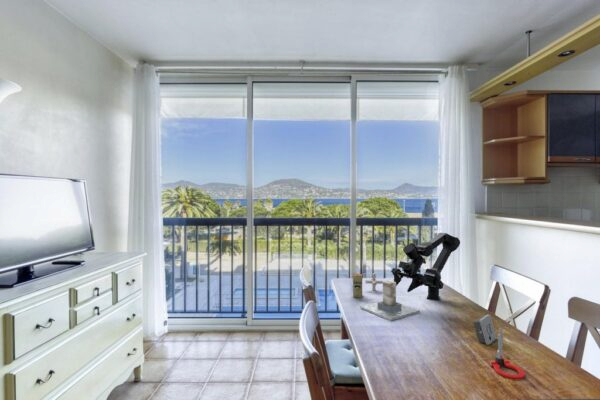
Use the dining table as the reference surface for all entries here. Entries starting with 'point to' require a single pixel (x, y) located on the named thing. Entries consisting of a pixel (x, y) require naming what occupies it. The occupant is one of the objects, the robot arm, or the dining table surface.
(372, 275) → the pipe connector
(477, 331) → the electrical switch
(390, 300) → the birch peg
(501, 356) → the tow hook
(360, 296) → the shoe polish box
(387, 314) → the socket plate
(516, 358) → the dining table surface
